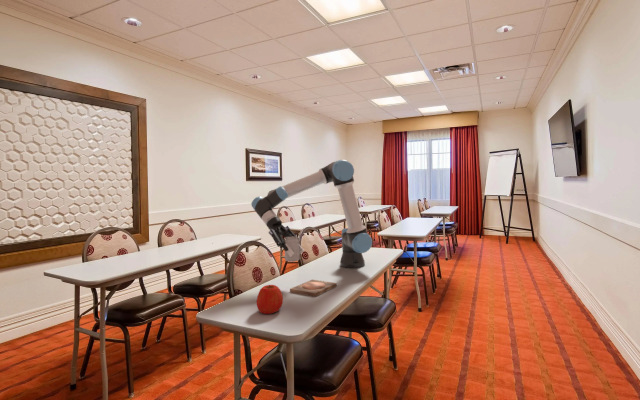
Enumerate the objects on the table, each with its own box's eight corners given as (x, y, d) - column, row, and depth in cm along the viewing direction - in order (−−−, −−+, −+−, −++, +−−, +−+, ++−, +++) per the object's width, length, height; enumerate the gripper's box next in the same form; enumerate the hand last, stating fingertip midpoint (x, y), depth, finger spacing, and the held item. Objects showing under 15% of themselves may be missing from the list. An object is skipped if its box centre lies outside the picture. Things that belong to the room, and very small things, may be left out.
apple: (286, 313, 135) (285, 286, 135) (259, 317, 132) (258, 290, 131) (280, 304, 145) (279, 279, 145) (254, 308, 142) (253, 283, 141)
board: (312, 282, 177) (312, 278, 177) (336, 286, 169) (336, 282, 169) (290, 291, 162) (289, 288, 162) (315, 296, 154) (315, 292, 154)
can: (282, 261, 173) (280, 237, 173) (292, 258, 179) (291, 235, 178) (292, 262, 168) (290, 238, 168) (302, 259, 174) (301, 236, 173)
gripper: (281, 223, 190) (305, 254, 181) (254, 228, 173) (280, 262, 165) (288, 214, 187) (313, 245, 178) (261, 218, 170) (288, 252, 162)
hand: (297, 253), depth 172 cm, fingers closed on can, 7 cm apart
